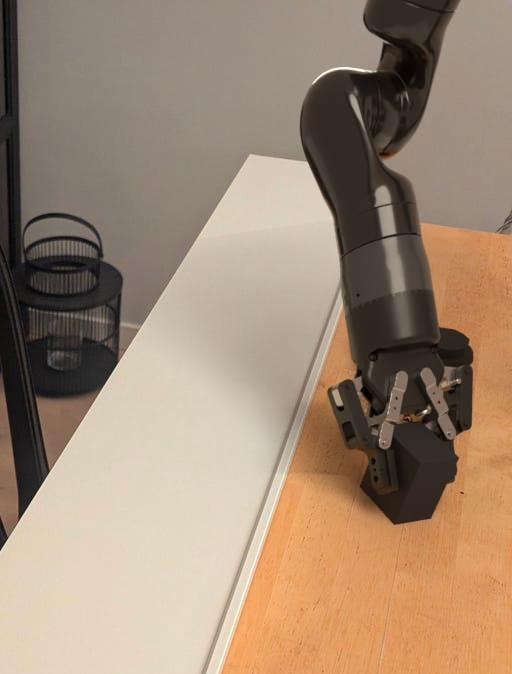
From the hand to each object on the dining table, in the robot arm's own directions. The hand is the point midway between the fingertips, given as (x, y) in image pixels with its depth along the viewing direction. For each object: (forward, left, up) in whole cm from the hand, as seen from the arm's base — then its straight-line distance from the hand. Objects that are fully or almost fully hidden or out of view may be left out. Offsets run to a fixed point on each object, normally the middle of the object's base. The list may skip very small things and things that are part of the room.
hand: (416, 487), depth 82 cm
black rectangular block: (0, -2, -5) cm, 5 cm away
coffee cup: (-7, -18, -5) cm, 20 cm away
